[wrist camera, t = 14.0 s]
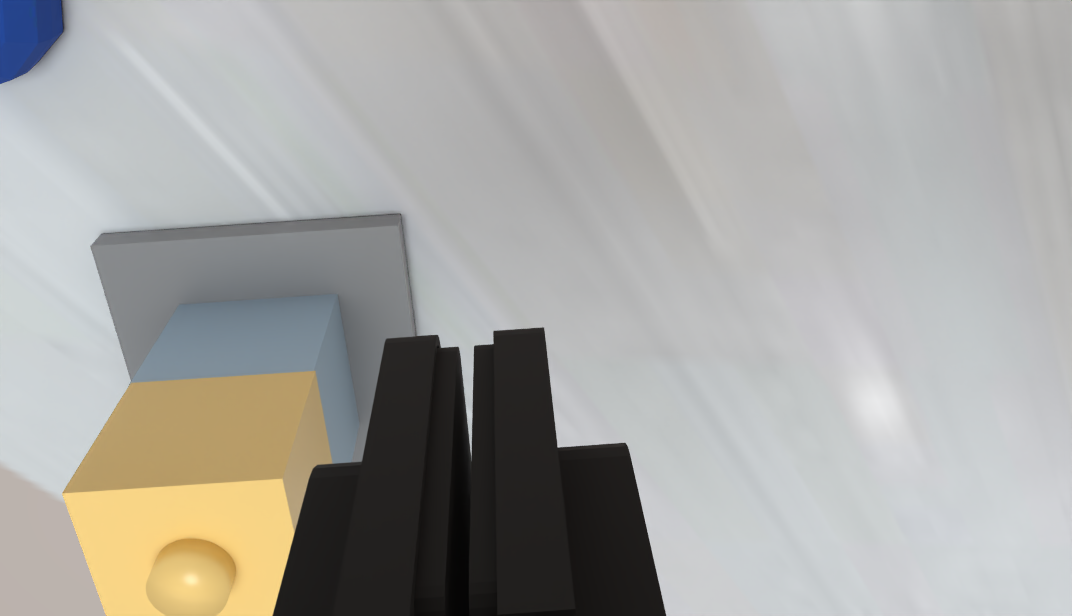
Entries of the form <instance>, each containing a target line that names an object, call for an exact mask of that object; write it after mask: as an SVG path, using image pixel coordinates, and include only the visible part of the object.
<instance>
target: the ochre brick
mask: <svg viewBox="0 0 1072 616" xmlns="http://www.w3.org/2000/svg"><path fill="white" fill-rule="evenodd" d="M321 464H333V463H332V457H331V452H330V447H329V441H328V436H327V430H326V425H325V420H324V414H323V409H322V404H321V398H320V393H319V387H318V382H317V377H316V371H305V372H289V373H274V374H258V375H243V376H228V377H212V378H197V379H182V380H166V381H151V382H135V383H131V384H130V385H129V387H128V388H127V390H126V392H125V393H124V395H123V396H122V398H121V400H120V401H119V403H118V404H117V406H116V408H115V409H114V411H113V413H112V414H111V416H110V417H109V419H108V421H107V422H106V424H105V425H104V427H103V429H102V430H101V432H100V433H99V435H98V437H97V438H96V440H95V441H94V443H93V445H92V446H91V448H90V449H89V451H88V453H87V454H86V456H85V457H84V459H83V461H82V462H81V464H80V465H79V467H78V469H77V470H76V472H75V474H74V475H73V477H72V478H71V480H70V482H69V483H68V485H67V486H66V488H65V490H64V491H63V493H62V495H63V498H64V500H65V503H66V506H67V509H68V511H69V514H70V517H71V520H72V522H73V525H74V528H75V531H76V533H77V536H78V539H79V542H80V545H81V547H82V550H83V553H84V556H85V558H86V561H87V564H88V567H89V570H90V572H91V575H92V578H93V581H94V583H95V586H96V589H97V592H98V594H99V597H100V600H101V603H102V606H103V608H104V611H105V614H106V616H273V612H274V608H275V604H276V601H277V597H278V593H279V589H280V586H281V582H282V578H283V574H284V571H285V567H286V563H287V559H288V556H289V552H290V548H291V544H292V541H293V537H294V533H295V529H296V525H297V522H298V518H299V514H300V510H301V507H302V503H303V499H304V495H305V492H306V488H307V484H308V480H309V477H310V475H311V472H312V469H313V468H314V467H315V466H316V465H321Z"/></svg>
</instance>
